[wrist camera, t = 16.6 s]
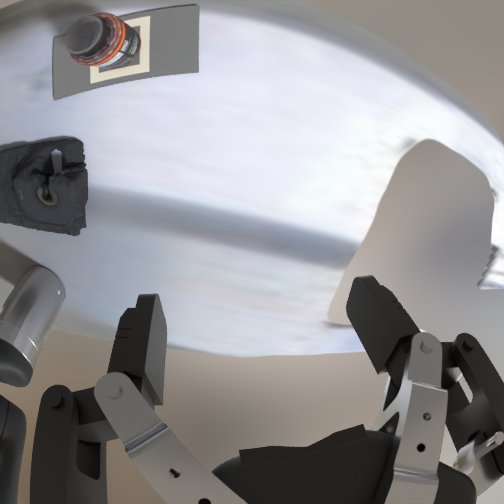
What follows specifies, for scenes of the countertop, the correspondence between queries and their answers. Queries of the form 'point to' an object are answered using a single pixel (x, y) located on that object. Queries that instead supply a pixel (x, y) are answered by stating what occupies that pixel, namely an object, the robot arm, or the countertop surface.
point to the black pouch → (44, 187)
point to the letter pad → (148, 59)
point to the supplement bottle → (102, 41)
